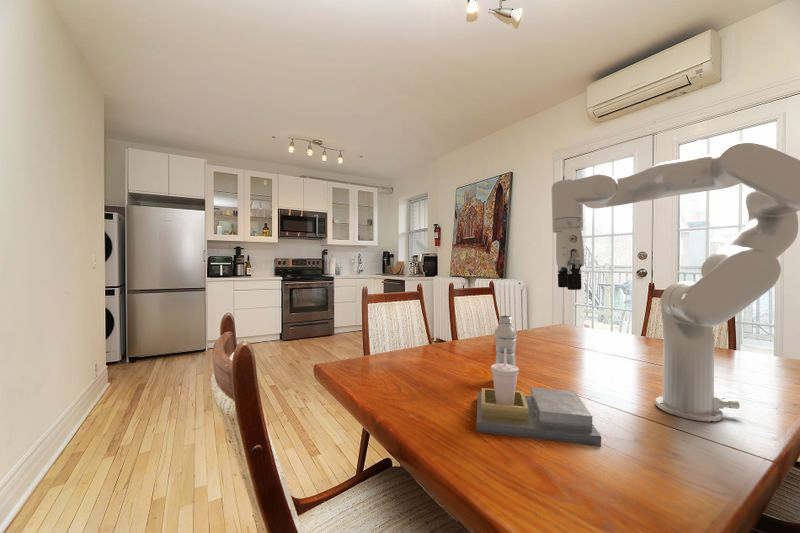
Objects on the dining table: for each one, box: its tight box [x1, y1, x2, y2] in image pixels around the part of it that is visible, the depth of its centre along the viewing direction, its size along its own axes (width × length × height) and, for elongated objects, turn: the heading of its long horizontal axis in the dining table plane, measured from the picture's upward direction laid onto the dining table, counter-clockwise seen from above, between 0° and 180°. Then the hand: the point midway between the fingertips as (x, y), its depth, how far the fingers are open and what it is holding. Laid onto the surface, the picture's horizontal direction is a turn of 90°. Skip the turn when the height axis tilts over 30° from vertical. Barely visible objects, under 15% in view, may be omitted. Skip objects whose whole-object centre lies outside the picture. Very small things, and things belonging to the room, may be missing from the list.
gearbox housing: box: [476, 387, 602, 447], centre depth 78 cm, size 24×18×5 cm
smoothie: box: [490, 348, 520, 406], centre depth 79 cm, size 6×6×14 cm
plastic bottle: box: [493, 315, 518, 366], centre depth 102 cm, size 6×7×20 cm
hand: (569, 288), depth 92 cm, fingers open, 9 cm apart
